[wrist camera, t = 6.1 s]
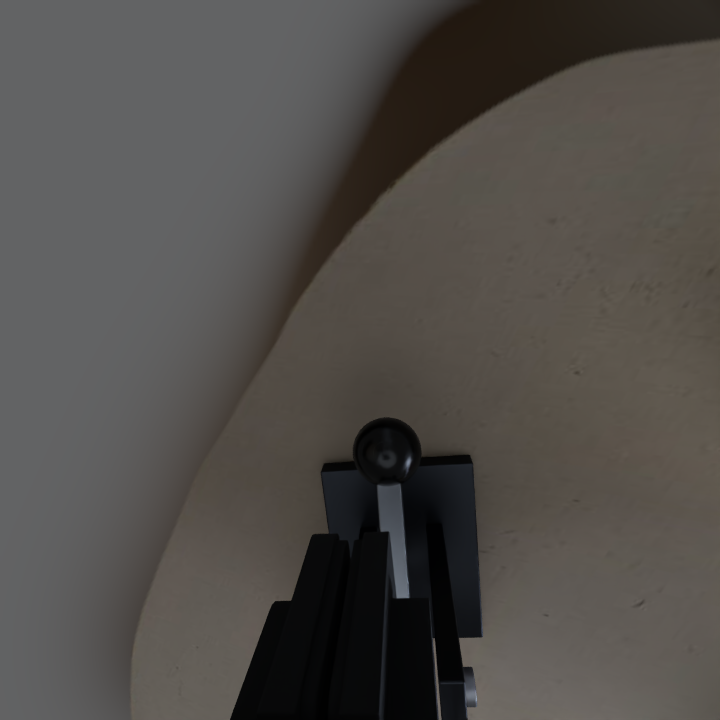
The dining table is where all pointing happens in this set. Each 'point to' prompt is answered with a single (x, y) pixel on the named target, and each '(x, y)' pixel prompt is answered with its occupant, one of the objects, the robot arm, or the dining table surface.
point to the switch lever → (390, 481)
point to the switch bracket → (426, 555)
